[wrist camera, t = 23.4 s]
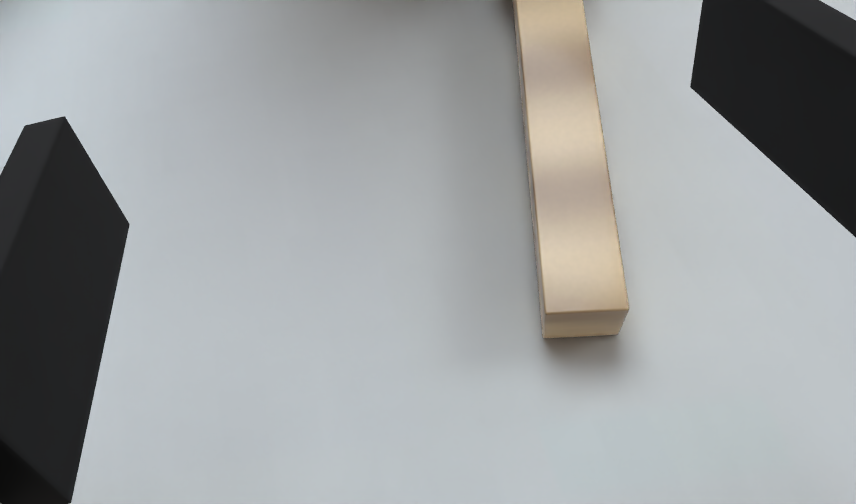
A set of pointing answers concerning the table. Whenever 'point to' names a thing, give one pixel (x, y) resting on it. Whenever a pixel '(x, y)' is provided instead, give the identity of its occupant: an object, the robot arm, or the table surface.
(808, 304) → the table surface
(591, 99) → the long wooden bar
